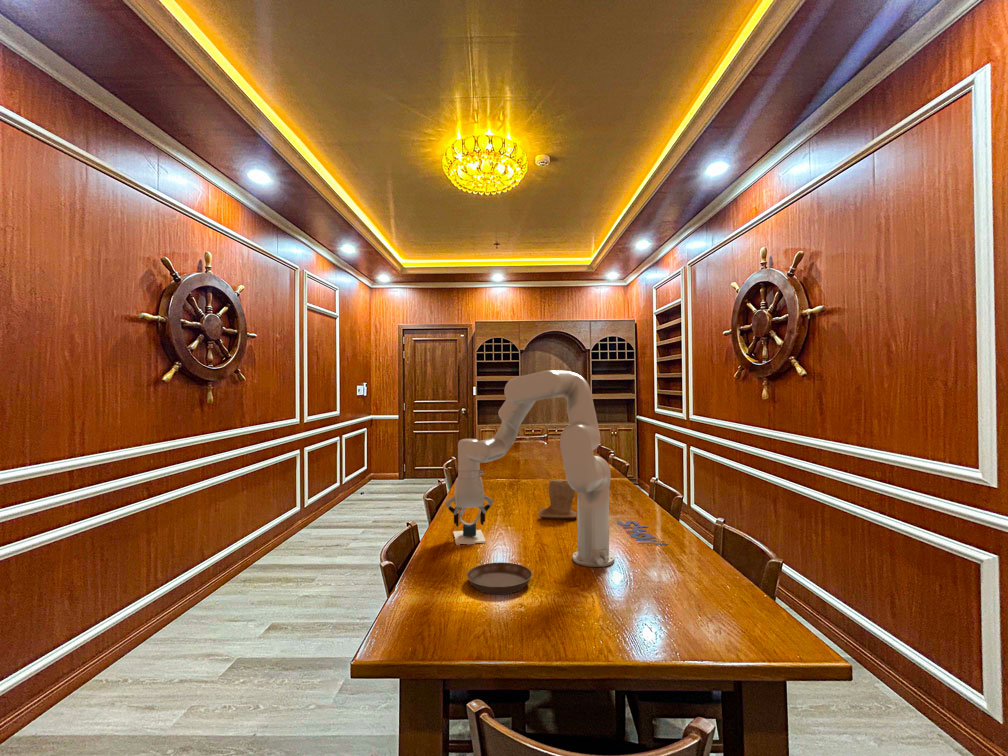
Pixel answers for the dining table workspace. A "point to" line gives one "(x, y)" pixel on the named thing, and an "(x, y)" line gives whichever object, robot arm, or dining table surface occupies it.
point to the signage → (636, 534)
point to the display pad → (468, 538)
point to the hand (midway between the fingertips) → (469, 524)
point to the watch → (469, 524)
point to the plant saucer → (499, 577)
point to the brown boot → (559, 501)
